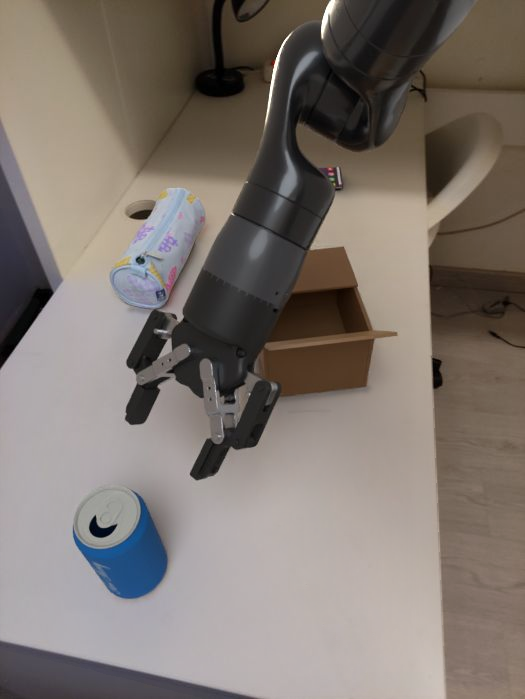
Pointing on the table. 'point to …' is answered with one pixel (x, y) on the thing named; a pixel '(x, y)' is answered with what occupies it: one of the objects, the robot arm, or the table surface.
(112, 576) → the beverage can
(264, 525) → the table surface
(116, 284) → the pencil case
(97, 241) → the table surface
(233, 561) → the table surface
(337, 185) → the smartphone
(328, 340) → the flap
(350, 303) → the carton
